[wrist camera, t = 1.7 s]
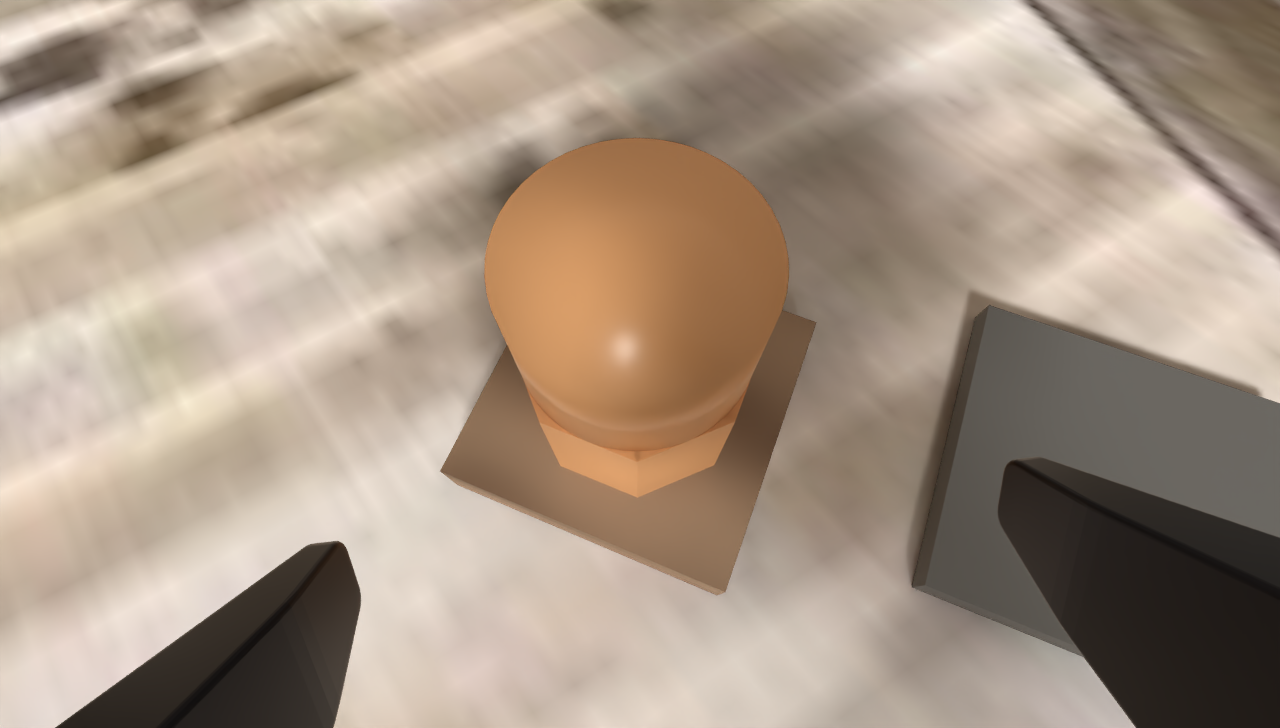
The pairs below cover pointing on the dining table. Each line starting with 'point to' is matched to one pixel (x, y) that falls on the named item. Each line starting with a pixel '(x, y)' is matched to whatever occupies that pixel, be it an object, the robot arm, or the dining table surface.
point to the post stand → (634, 527)
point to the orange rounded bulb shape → (636, 304)
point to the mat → (1082, 453)
